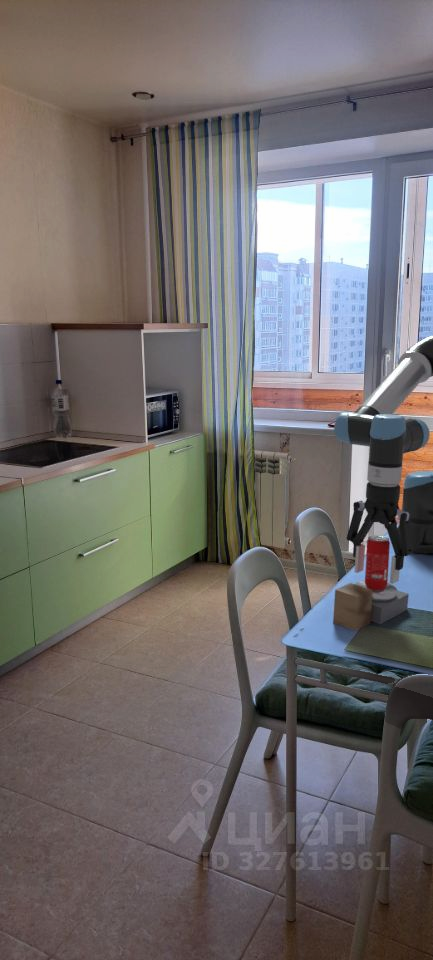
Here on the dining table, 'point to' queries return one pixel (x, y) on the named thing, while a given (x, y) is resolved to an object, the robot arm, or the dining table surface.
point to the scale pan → (382, 593)
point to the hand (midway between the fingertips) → (376, 576)
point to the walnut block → (352, 606)
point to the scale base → (389, 608)
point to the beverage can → (377, 562)
